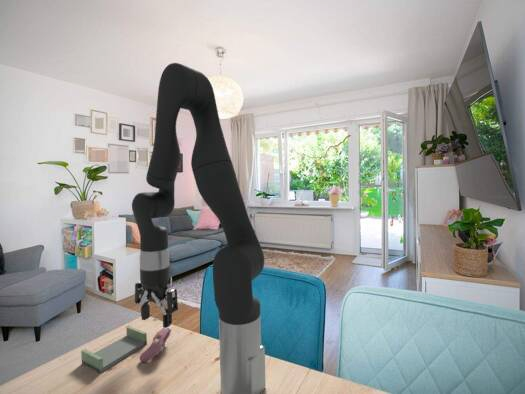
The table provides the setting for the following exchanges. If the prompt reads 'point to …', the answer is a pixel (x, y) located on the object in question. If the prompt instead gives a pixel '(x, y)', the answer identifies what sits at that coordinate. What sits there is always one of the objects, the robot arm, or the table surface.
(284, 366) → the table surface
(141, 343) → the tray
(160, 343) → the video game controller
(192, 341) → the table surface
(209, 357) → the table surface
